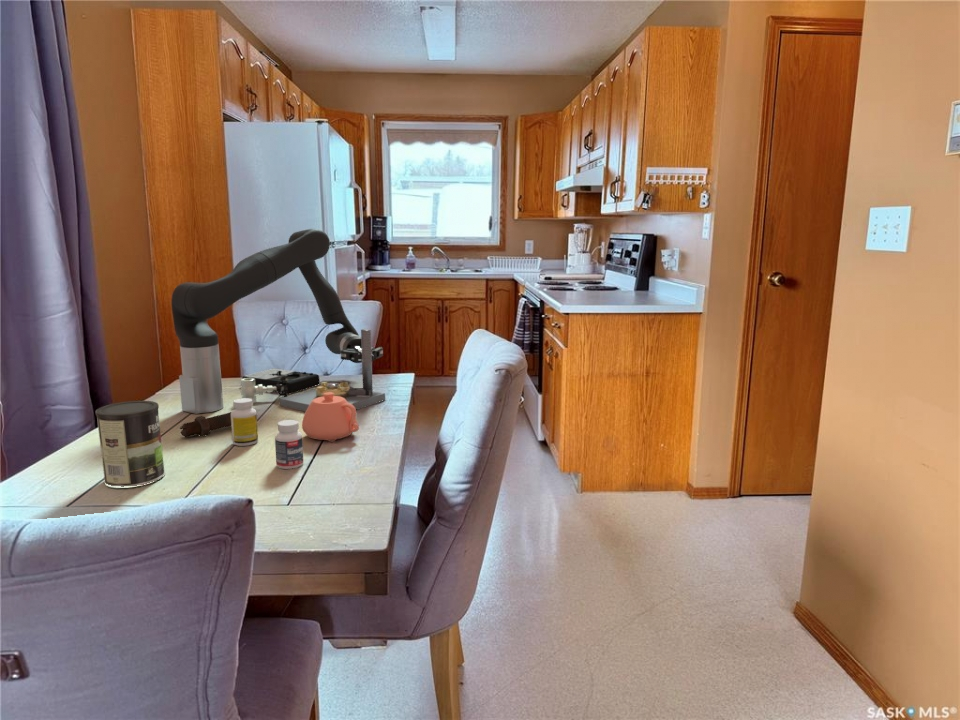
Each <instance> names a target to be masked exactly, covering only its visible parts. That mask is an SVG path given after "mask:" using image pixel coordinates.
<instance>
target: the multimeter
mask: <svg viewBox="0 0 960 720" xmlns="http://www.w3.org/2000/svg"><path fill="white" fill-rule="evenodd" d="M281 376H285V380H286V381H287V384H286V387H287V389H288V391H287V393H288V394H289V393H291V394H295V393H297V391H298V392H301V391H304V390H307V389H310V388H309V387H311V388H313V387H312V386H314V387H316V386H315V385H317V386H319V385H320V375H319V374H317V373H312V372H309V373H308V372H307V371H304V372H303V371H295V370H287V369H280V368H270V369H265V370H262V371H257V372H254V373H250V374H246V375H243V376H242V377H241V379H244V378H254V379H255V386H258V385H260V384H262V386H265V387H267V386H271V385H272V387H276V385H277V383H278V382H282V381H280V378H281ZM318 384H319V385H318ZM306 388H307V389H306ZM303 389H304V390H303ZM300 390H301V391H300ZM274 391H275V392H276V390H273V392H274ZM275 392H274V393H275ZM276 393H277V392H276ZM280 393H281V391H280ZM288 394H287V395H288ZM289 395H290V394H289Z"/></svg>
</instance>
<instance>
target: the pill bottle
mask: <svg viewBox="0 0 960 720" xmlns="http://www.w3.org/2000/svg"><path fill="white" fill-rule="evenodd" d="M299 425H300V424H299V421H298V420H296V419H285V420H280V421H278V422H277V431H278V432H277V433H276V434H275V436H274V445H275V462H276V463H275V464H276V467H277V468H279V469H283V470H290V469H292V468H293V469H297V468H300V467H302V466H303V464H304V446H303V445H304V443H303V434H302V432H301V431H299V428H300V427H299Z"/></svg>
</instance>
